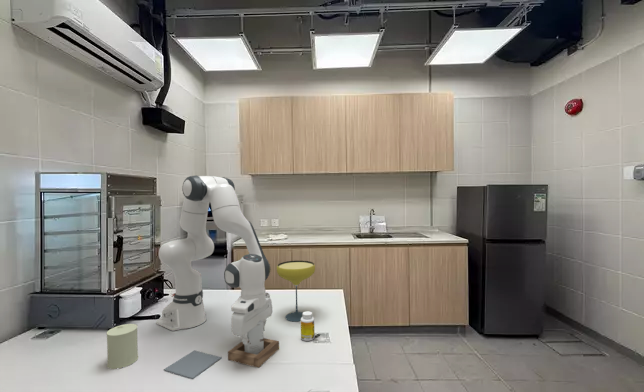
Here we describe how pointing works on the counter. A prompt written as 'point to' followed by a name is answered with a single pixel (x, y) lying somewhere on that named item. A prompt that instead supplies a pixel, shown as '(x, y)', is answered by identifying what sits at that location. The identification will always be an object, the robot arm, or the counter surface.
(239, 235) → the robot arm
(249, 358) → the walnut collar
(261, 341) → the skincare box
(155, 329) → the counter surface
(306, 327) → the supplement bottle
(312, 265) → the cocktail glass
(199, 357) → the slate mat
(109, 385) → the counter surface
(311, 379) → the counter surface
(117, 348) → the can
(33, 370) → the counter surface
